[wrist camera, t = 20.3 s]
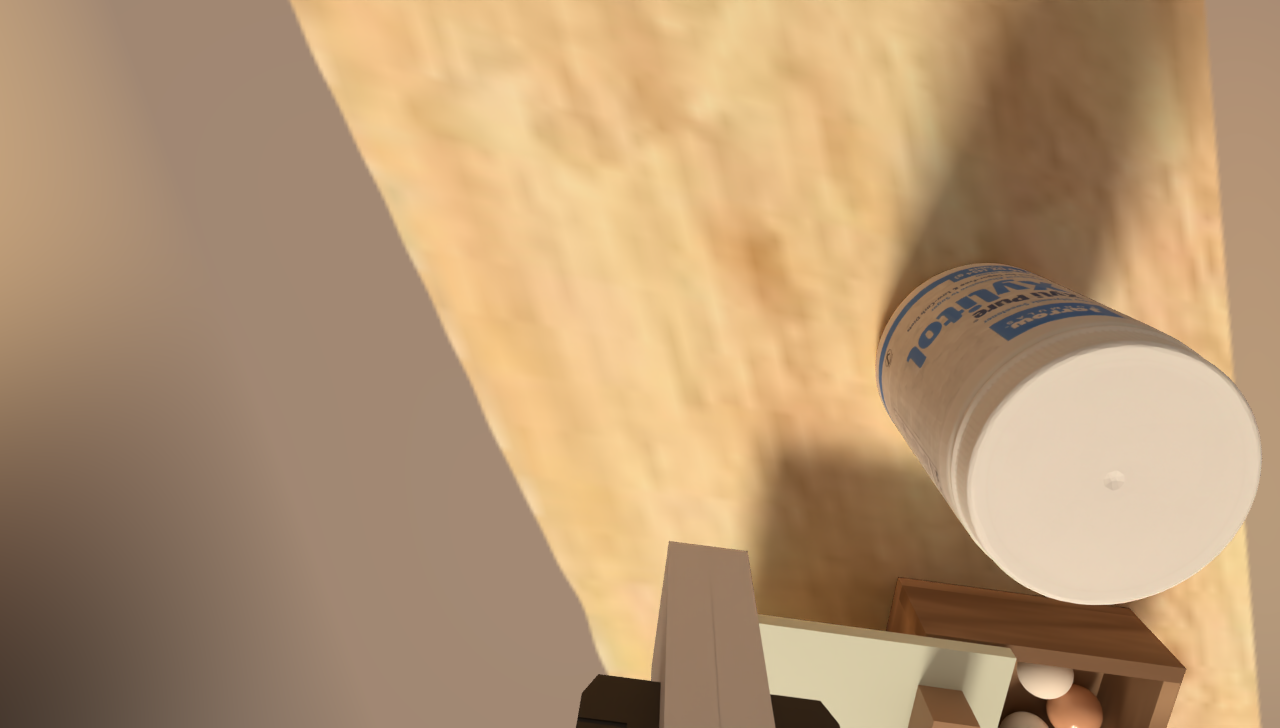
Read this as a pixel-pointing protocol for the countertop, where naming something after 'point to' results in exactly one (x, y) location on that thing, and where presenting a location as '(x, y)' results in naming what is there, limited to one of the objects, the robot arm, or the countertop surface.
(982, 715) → the lid
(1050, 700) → the ball
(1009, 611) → the box
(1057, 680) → the ball
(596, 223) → the countertop surface
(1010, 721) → the ball
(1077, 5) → the countertop surface
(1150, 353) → the supplement tub
